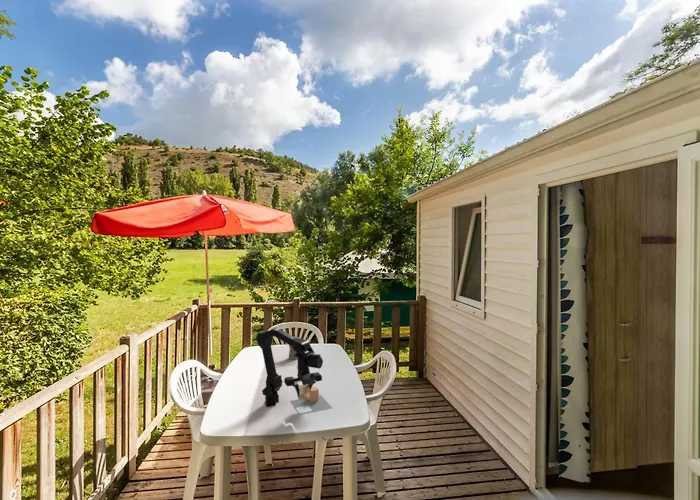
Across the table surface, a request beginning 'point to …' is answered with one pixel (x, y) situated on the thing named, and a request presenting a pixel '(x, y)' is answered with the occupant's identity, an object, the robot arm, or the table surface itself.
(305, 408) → the board
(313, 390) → the terracotta block
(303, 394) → the maple block
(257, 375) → the table surface
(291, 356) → the coffeepot
